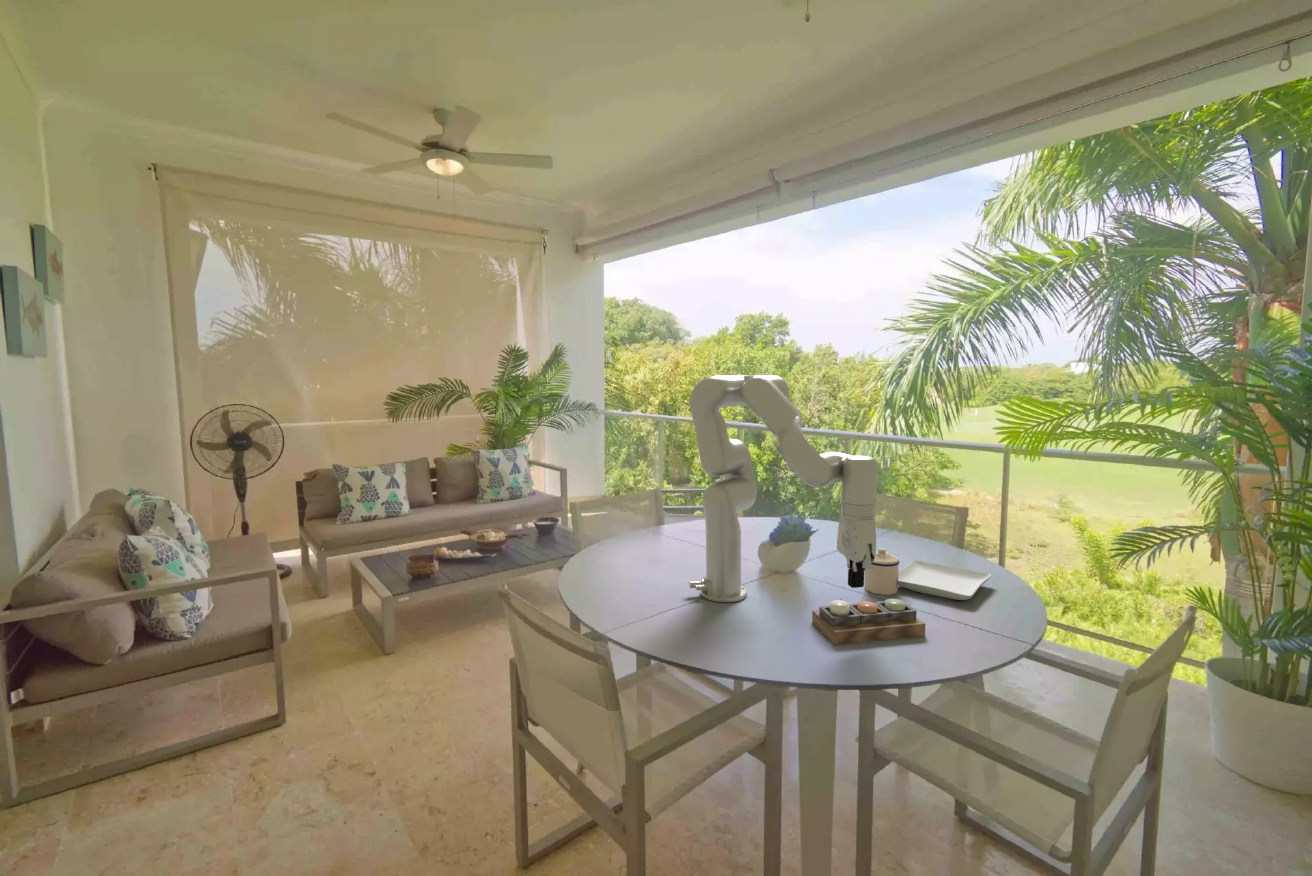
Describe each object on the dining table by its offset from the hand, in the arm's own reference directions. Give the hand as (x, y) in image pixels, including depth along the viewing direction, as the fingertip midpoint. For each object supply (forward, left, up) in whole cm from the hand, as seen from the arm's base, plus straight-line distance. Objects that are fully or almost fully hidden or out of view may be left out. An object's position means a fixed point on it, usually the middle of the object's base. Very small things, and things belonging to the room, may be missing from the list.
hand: (855, 586), depth 137 cm
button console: (+3, 0, -11) cm, 11 cm away
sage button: (+10, 0, -7) cm, 12 cm away
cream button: (-4, 0, -6) cm, 7 cm away
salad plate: (+37, +21, -11) cm, 44 cm away
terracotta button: (+3, 0, -7) cm, 8 cm away
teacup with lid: (+20, +24, -11) cm, 33 cm away
